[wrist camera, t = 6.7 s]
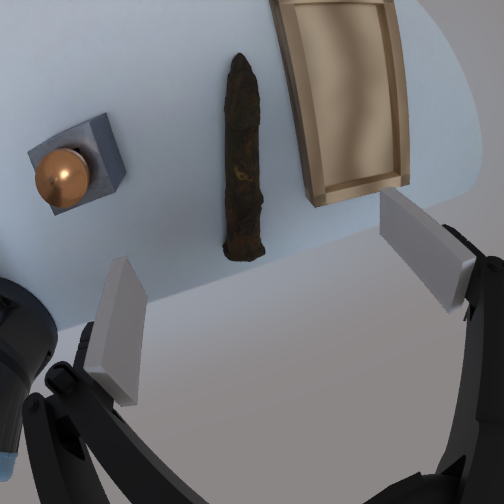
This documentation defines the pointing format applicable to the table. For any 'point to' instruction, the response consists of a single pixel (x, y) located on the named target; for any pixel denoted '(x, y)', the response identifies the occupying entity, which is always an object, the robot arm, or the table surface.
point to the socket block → (88, 157)
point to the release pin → (62, 177)
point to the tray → (346, 95)
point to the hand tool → (242, 164)
